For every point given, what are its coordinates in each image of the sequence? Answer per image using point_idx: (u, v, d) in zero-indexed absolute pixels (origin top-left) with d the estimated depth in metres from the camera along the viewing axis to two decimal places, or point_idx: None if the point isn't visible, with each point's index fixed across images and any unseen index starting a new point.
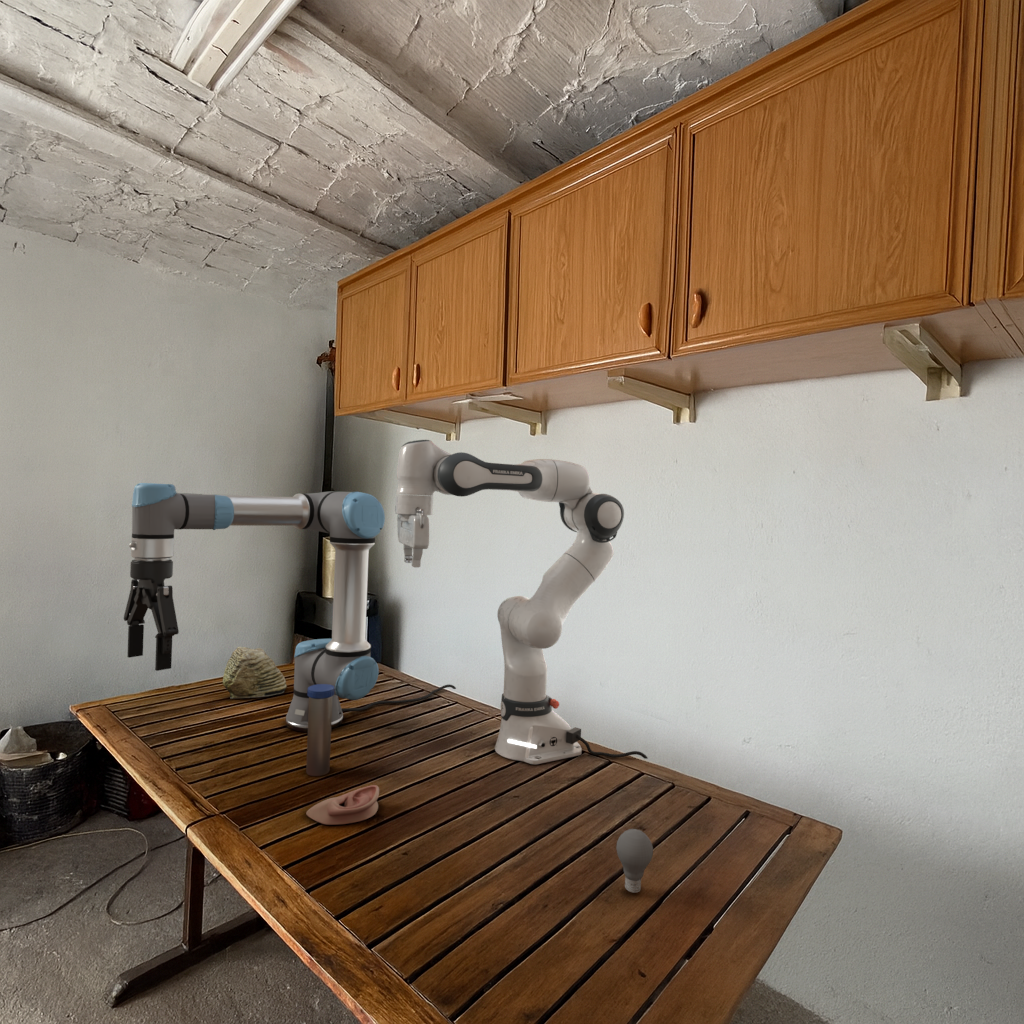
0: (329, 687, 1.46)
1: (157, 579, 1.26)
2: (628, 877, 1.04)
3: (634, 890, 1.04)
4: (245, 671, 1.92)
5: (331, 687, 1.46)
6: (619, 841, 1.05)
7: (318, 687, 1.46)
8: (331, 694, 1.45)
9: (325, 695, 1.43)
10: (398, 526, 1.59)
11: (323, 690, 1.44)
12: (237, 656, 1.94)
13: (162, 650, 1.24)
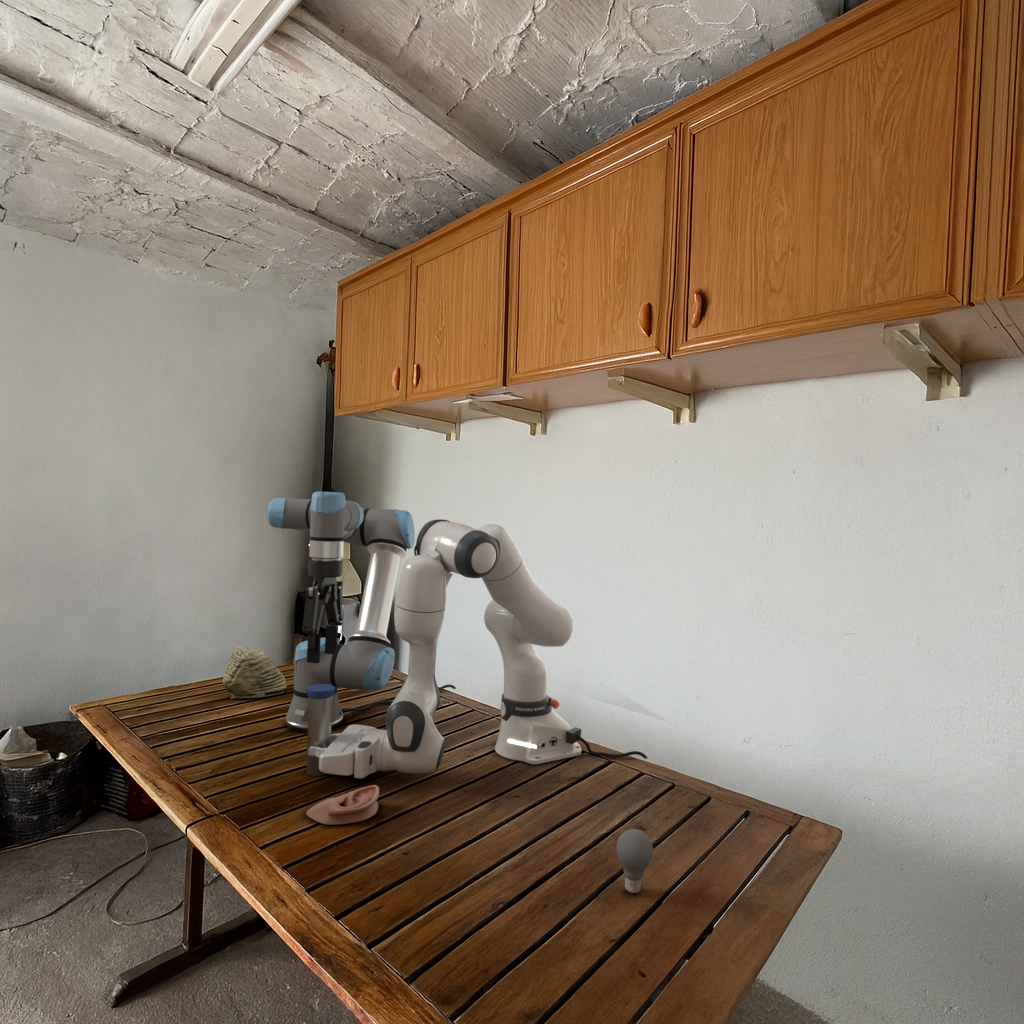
0: (329, 687, 1.46)
1: (316, 577, 1.41)
2: (628, 877, 1.04)
3: (634, 890, 1.04)
4: (245, 671, 1.92)
5: (331, 687, 1.46)
6: (619, 841, 1.05)
7: (318, 687, 1.46)
8: (331, 694, 1.45)
9: (325, 695, 1.43)
10: None
11: (323, 690, 1.44)
12: (237, 656, 1.94)
13: None
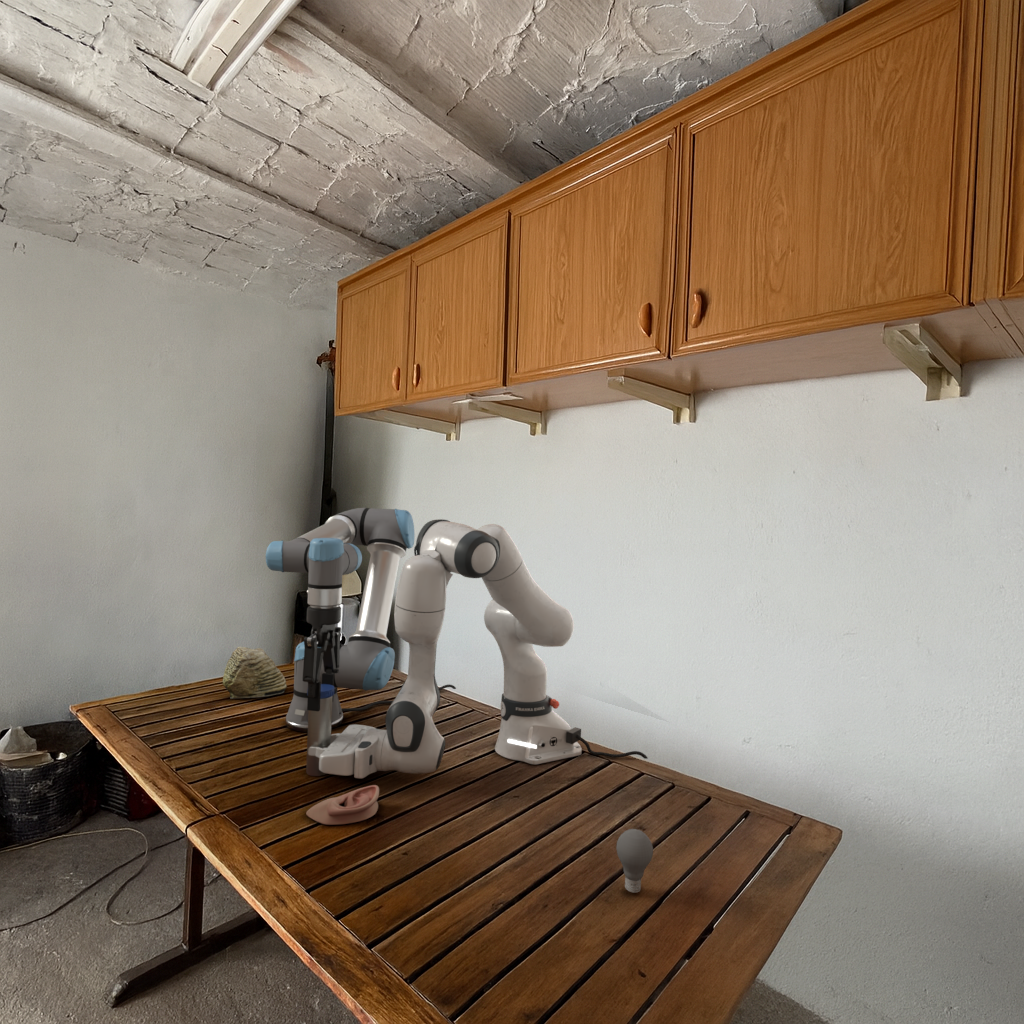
0: (329, 687, 1.46)
1: (314, 625, 1.42)
2: (628, 877, 1.04)
3: (634, 890, 1.04)
4: (245, 671, 1.92)
5: (331, 687, 1.46)
6: (619, 841, 1.05)
7: None
8: (331, 694, 1.45)
9: (325, 695, 1.43)
10: None
11: (323, 690, 1.44)
12: (237, 656, 1.94)
13: None
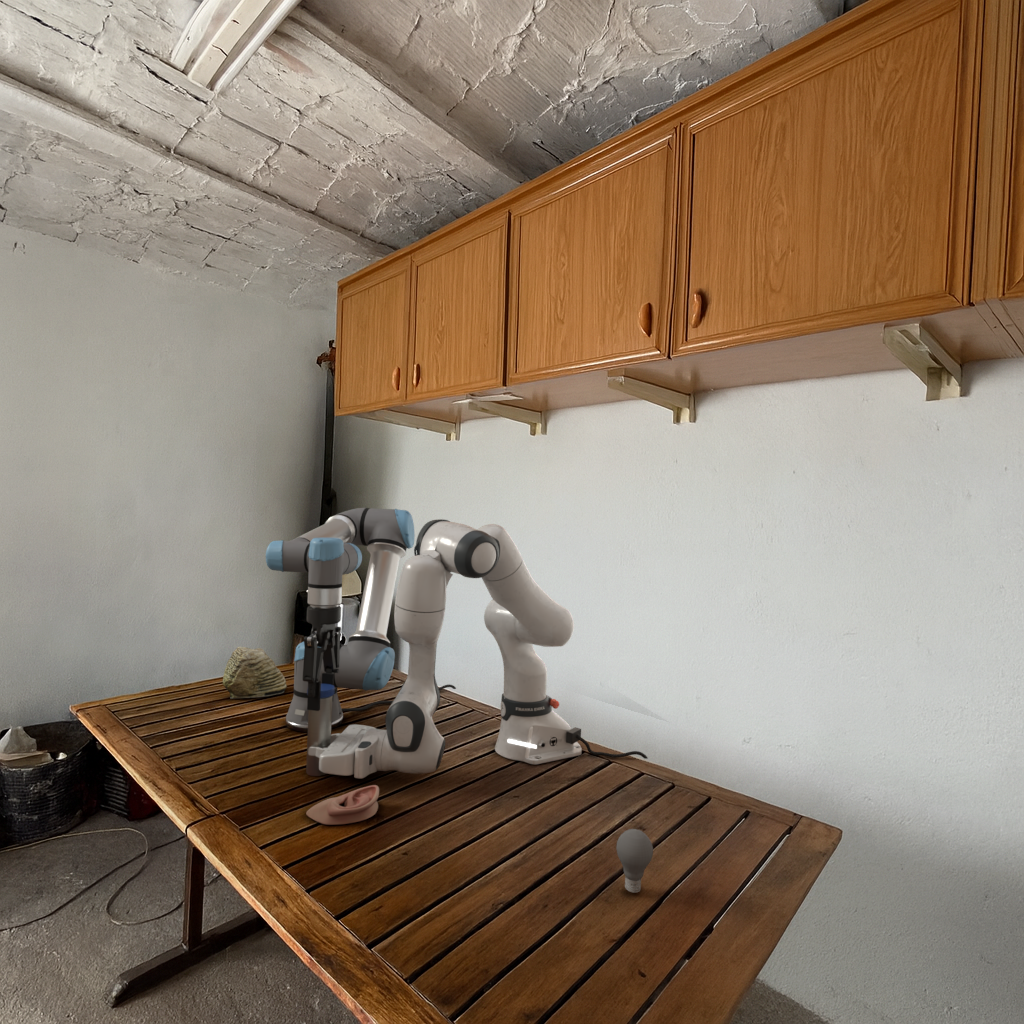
0: (323, 684, 1.47)
1: (314, 624, 1.42)
2: (628, 877, 1.04)
3: (634, 890, 1.04)
4: (245, 671, 1.92)
5: (323, 684, 1.48)
6: (619, 841, 1.05)
7: None
8: None
9: None
10: None
11: (331, 686, 1.46)
12: (237, 656, 1.94)
13: None
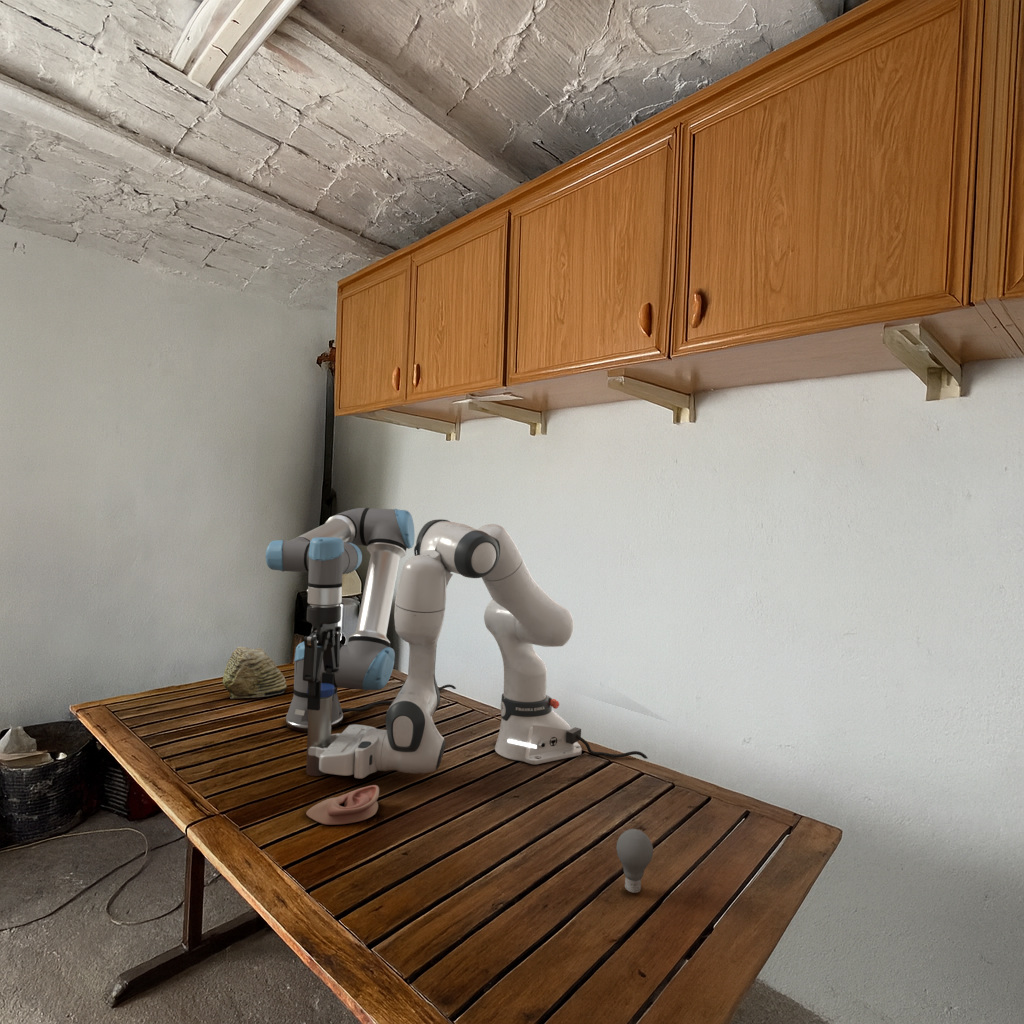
0: None
1: (314, 624, 1.42)
2: (628, 877, 1.04)
3: (634, 890, 1.04)
4: (245, 671, 1.92)
5: None
6: (619, 841, 1.05)
7: (323, 687, 1.45)
8: None
9: None
10: None
11: (322, 684, 1.48)
12: (237, 656, 1.94)
13: None
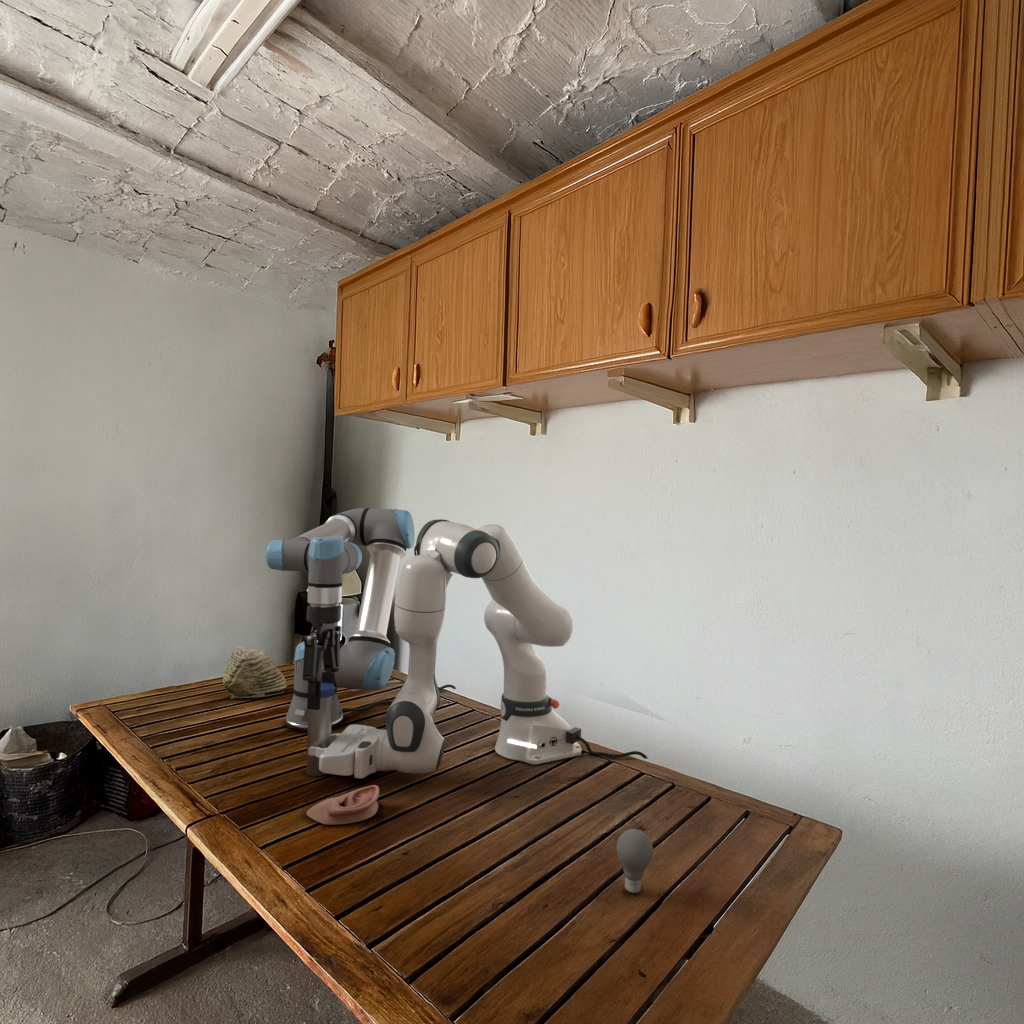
0: None
1: (314, 623, 1.42)
2: (628, 877, 1.04)
3: (634, 890, 1.04)
4: (245, 671, 1.92)
5: None
6: (619, 841, 1.05)
7: (323, 685, 1.46)
8: None
9: (307, 691, 1.45)
10: None
11: None
12: (237, 656, 1.94)
13: None
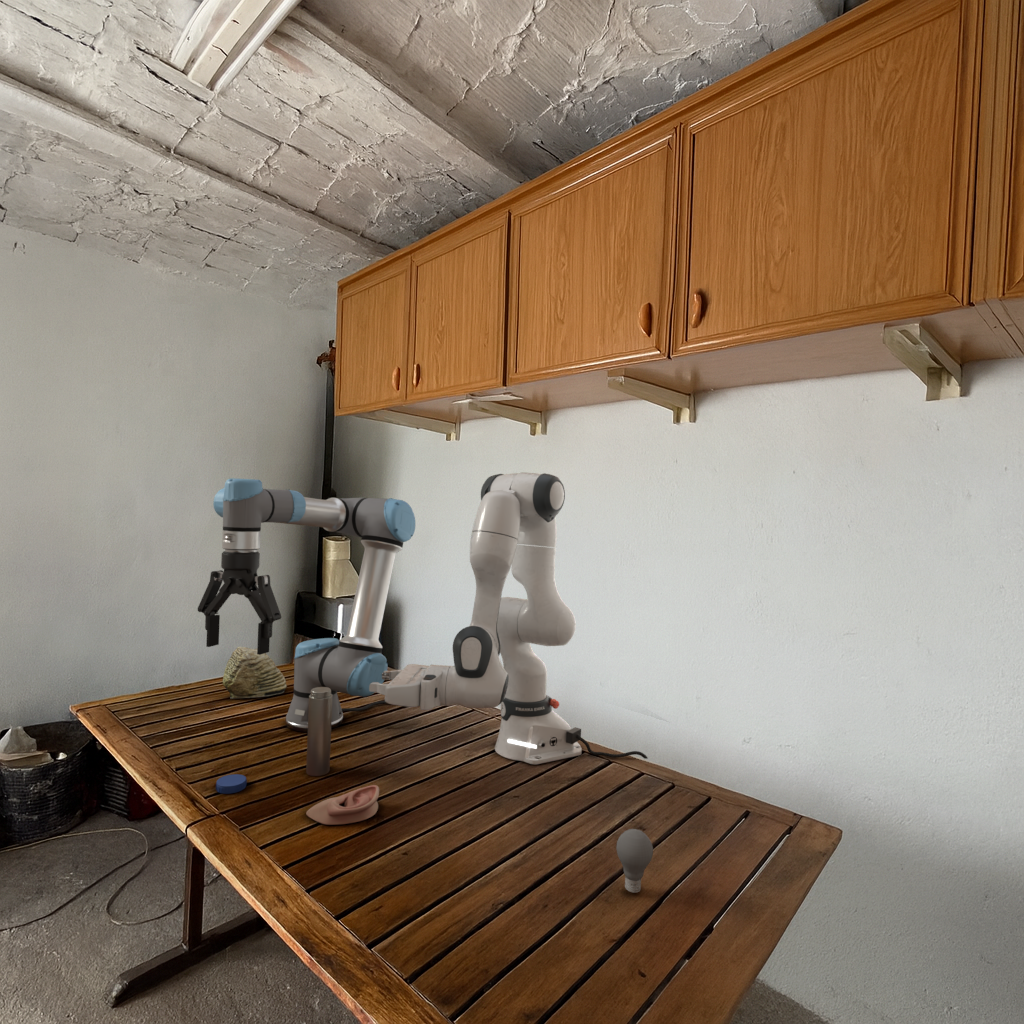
0: (227, 777, 1.37)
1: (253, 570, 1.34)
2: (628, 877, 1.04)
3: (634, 890, 1.04)
4: (245, 671, 1.92)
5: (227, 776, 1.38)
6: (619, 841, 1.05)
7: (231, 781, 1.36)
8: None
9: None
10: None
11: (240, 776, 1.38)
12: (237, 656, 1.94)
13: (265, 635, 1.33)
